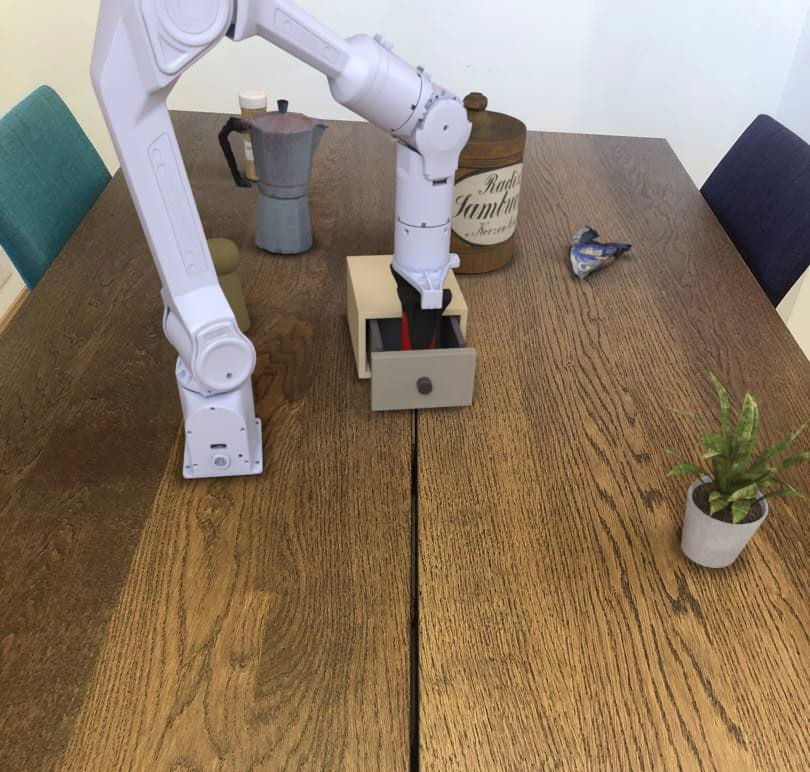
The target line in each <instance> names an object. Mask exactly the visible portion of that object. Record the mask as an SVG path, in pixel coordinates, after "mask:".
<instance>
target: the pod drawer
mask: <svg viewBox="0 0 810 772" xmlns="http://www.w3.org/2000/svg"><path fill="white" fill-rule="evenodd" d="M401 327H402V317H397V318H373V319H366V353H367V358H368V362H369V367H370V372H371V378H370V408H371V412H378V411H379V412H380V411H395V410H396V411H398V410H413V409H414V410H415V409H431V408H432V409H433V408H448V407H450V408H451V407H466V406H467V407H468V406H472V405H473V396H474V395H473V394H474V386H475V375H476V367H477V366H476V365H477V358H478V352H477V350H476V347H466V346H467V343H466V339H465V340H464V337H463V334H462V332H461V329H460V327H459V324H458V321H457V319H456V316H455V315H444V316H441V318H440V320H439V323H438V325H437V328H436V332H435V347H434V349H431V350H410V351H402V350H401Z"/></svg>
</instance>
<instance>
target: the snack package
mask: <svg viewBox="0 0 810 772" xmlns="http://www.w3.org/2000/svg"><path fill="white" fill-rule="evenodd" d="M597 238H600V234H599V232H598V230H597V229H596V227H594V226H592V225H588V224H586V225H584V226H583V227H582V228H581V229H579V230H577V232H576V233H575V234H574V235H573V237H572V238H571V240H570V245H572V248H571V251H570V262H571V264H572V270H573V272H574V275H576V276H577V277H578V278H580V279H579V280H583V278H585V277H586V276H588V275H589V274H590V273H591V272H593V271H597V270H600V269H601V268H605V267H606V266H610V265H612V264H613V263H614V262H616V260H617V259H619V258H620V257H621V256H623V254H624V253H625V252H630V250H631V249H632V248H633V247H632V246H633V245H632V244H631V243H630V244H628V243H621V242H617V241H616V240H615V241H612V242H604V243H602V242H599V241H597V240H595V239H597ZM624 257H626V258H627V257H628V256H627V255H624Z"/></svg>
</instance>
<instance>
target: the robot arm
mask: <svg viewBox="0 0 810 772" xmlns="http://www.w3.org/2000/svg"><path fill="white" fill-rule="evenodd" d="M255 36H258V37H260V38H262V39H264V40H265V41H267V42H269V43H271V44H272V45H274V46H276V47H277V48H279V49H281V50H282V51H284V52H286V53H288V54H289V55H291V56H292V57H294V58H296V59H298V60H299V61H301V62H303V63H304V64H307V65H308V66H310V67H311V68H312V69H315V70H316V71H318V72H320V73H322V74H323V75H325V76H326V80H327V84H328V88H329V91H330V94H331V97H332V99H333V100H334V101H335V102H336V103H338V104H339V105H341V106H342V107H344V108H346V109H347V110H349V111H351V112H352V113H354V114H355V115H357V116H359V117H361V118H362V119H364V120H366V121H367V122H369V123H370V124H372V125H374V126H376V127H377V128H378V129H380V130H382V131H384V132H385V133H387V134H389V135H390V136H391V138H392V139H398V140H397V141H396V160H395V161H396V163H395V197H394V198H395V199H394V200H395V201H394V202H395V203H394V235H393V236H394V237H393V238H394V239H393V241H394V242H393V245H394V246H393V254H392V255H393V256H392V263H391V264H390V270H391V273H392V275H393V277H394V279H395V281H396V283H397V286H398V287H397V294H398V297H399V300H400V302H401V307H402V314H403V313H404V312H405V313H406V319H407V327H408V335H409V341H410V345H411V348H412V349H429V348H430V347H431V344H432V341H433V338H434V335H435V332H436V328H437V325H438V323H439V320H440V318H441V316H442V314H443V312H444V311H445V309H446V308H447V306H448V305H449V304H450V303H451V300H452V293H451V290H450V289H442V287H443V284H444V282H445V279H446V276H447V274H448V271H449V269H450V268H457V267H459V265H460V259H459V257H458V255H457V254H454V253H449V248H450V234H451V219H452V207H453V193H454V179H455V170H457V169H458V158H459V155H460V152H461V150H462V149H463V148H464V146H465V144H466V143H467V141H468V138H469V136H470V133H471V128H472V123H471V122H470V123H469V121H468V120H467V111H466V108H464V106H463V105H465V104H464V103H463V99H462V98H461V97H460V96H459V95H458V94H456V93H454V92H452V91H451V90H448V89H447V88H445V87H442V86H441V85H439V84H437V83H435V82H433V81H431V78H432V77H433V76H432V75H433V73H432V72H431V70H429V69H427V68H426V67H425V66H422V65H421V64H419V65H417V66H416V67H415V66H413V65H412V64H410V63H409V62H408V61H406V60H405V59H403V58H401V56H400V55H398V54H397V53H394V51H392V50H393V49H394V42H393V41H391V40H390V39H389V38H387V37H386V36H385V35H382V34H380V33H378V32H377V33H375V34H374V35H373V37H372V36H371V35H369V34H367V33H358V34H355V35H352V36H349V37H347V38H343V37H342V36H340V35H339V34H337V33H336V32H335V31H334V30H332V29H331V28H329V27H328V26H326V25H325V24H324V23H323V22H321V21H320V20H318V19H317V18H316V17H315V16H313V15H312V14H311V13H309V12H308V11H306V10H305V9H304V8H303V7H301V6H299V5H298V4H297V3H295V2H294V1H293V0H100V2H99V9H98V14H97V21H96V28H95V34H94V39H93V46H92V52H91V57H90V58H91V59H90V64H89V77H90V83H91V86H92V89H93V93H94V95H95V98H96V101H97V103H98V106H99V109H100V112H101V114H102V118H103V120H104V123H105V126H106V129H107V132H108V134H109V137H110V140H111V143H112V146H113V149H114V152H115V155H116V158H117V159H118V163H119V166H120V168H121V172H122V174H123V177H124V180H125V182H126V183H125V184H126V186H127V189H128V192H129V194H130V197H131V199H132V202H133V206H134V208H135V211H136V213H137V218H138V219H139V222H140V225H141V228H142V231H143V234H144V236H145V239H146V242H147V245H148V248H149V250H150V253H151V257H152V259H153V262H154V265H155V267H156V271H157V274H158V277H159V279H160V282H161V285H162V287H161V288H160V296H161V298H162V302H163V306H164V307H163V308H164V309H163V310H164V311H163V317H162V328H163V333H164V335H165V337H166V339H167V340H168V342H169V343H170V344H171V346H173V347H174V349H175V350H176V351H177V353H178V356H177V359H176V365H175V370H174V371H175V379H176V384H177V388H178V389H177V390H178V393H179V394H178V395H179V399H180V406H181V411H182V415H183V420H184V434H185V440H184V452H183V453H184V454H183V465H182V466H183V467H182V476H183V478H184V479H204V478H216V477H232V476H233V477H234V476H247V475H259V474H261V473H263V472H264V468H263V439H262V437H263V434H262V432H263V431H262V419H261V418H259V417H256V411H255V403H254V393H253V385H252V384H253V383H252V377H251V376H252V374H253V372H254V370H255V368H256V364H257V353H256V349H255V346H254V344H253V342H252V341H251V340H250V339H249V338H248V337H247V336H246V335H245V333H242V332H241V331H240V329H239V328H238V325H237V322H236V319H235V316H234V313H233V311H232V309H231V307H230V305H229V303H228V301H227V299H226V297H225V295H224V293H223V291H222V289H221V287H220V285H219V281H218V278H217V275H216V271H215V268H214V264H213V261H212V258H211V254H210V251H209V248H208V244H207V241H206V240H207V238H206V235H205V232H204V227H203V225H202V221H201V217H200V213H199V211H198V208H197V204H196V201H195V197H194V194H193V191H192V187H191V184H190V181H189V176H188V173H187V170H186V166H185V164H184V160H183V157H182V154H181V149H180V146H179V143H178V139H177V137H176V133H175V129H174V126H173V122H172V120H171V116H170V112H169V108H168V106H167V99H168V98H169V95H170V94H171V92H172V91H173V89H174V87H175V86H176V85H177V83H178V81H179V79H180V78H181V77H182V75H183V73H185V72H186V71H187V70H188V69H190V68H191V67H192V66H193V65H195V64H196V63H198V61H199V60H201V59H202V58H203V57H204V56H206V55H207V54H208V53H209V52H210V51H212V50H213V49H214V48H215V47H216V46H217V45H218V44H220V42H221V41H222V40H223V39H224V37H226V38H227V39H229V40H231V41H232V42H234V43H238V42H241V41H244V40H247V39H250V38H252V37H255Z"/></svg>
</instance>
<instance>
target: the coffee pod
mask: <svg viewBox="0 0 810 772" xmlns="http://www.w3.org/2000/svg"><path fill="white" fill-rule="evenodd" d="M434 347H435V335H434V338H433V341H432V344H431V347H430V348H429V349H412V348H411V345H410V341H409V335H408V327H407V319H406V313H405V312H404V313H403V314H402V327H401V350H402V351H410V350H431V349H434Z"/></svg>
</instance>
